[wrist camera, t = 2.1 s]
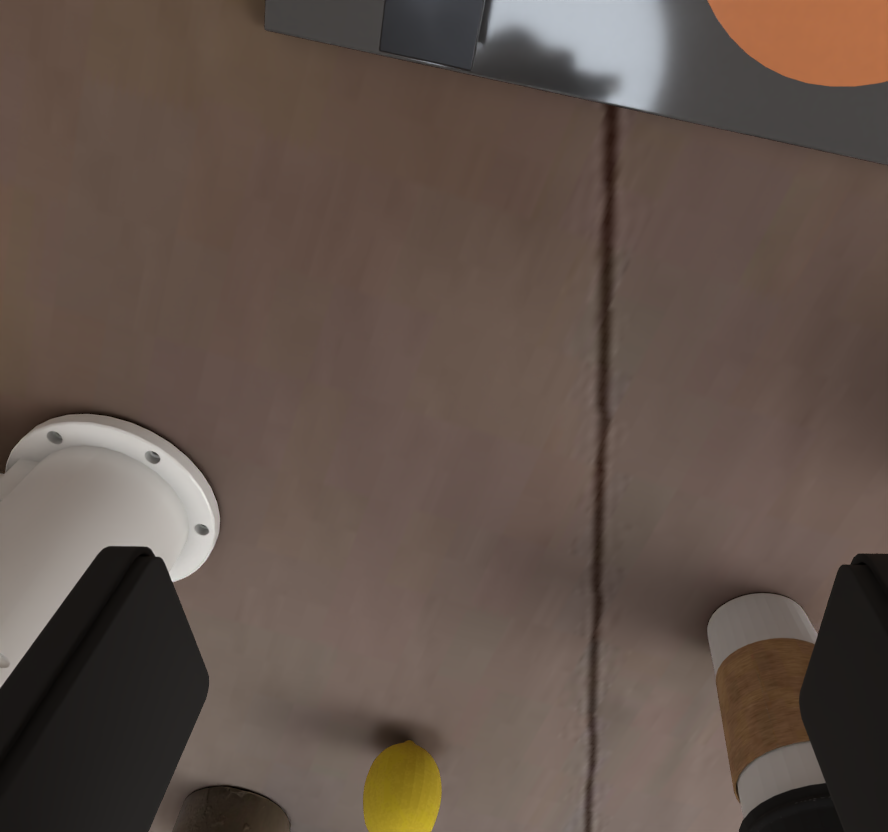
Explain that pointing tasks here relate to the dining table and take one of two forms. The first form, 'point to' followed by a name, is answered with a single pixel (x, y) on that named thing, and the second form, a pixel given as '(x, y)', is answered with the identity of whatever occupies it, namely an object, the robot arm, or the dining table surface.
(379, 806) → the lemon
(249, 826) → the pillar candle
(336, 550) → the dining table surface
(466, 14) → the pot
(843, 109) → the cooktop
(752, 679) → the coffee cup
